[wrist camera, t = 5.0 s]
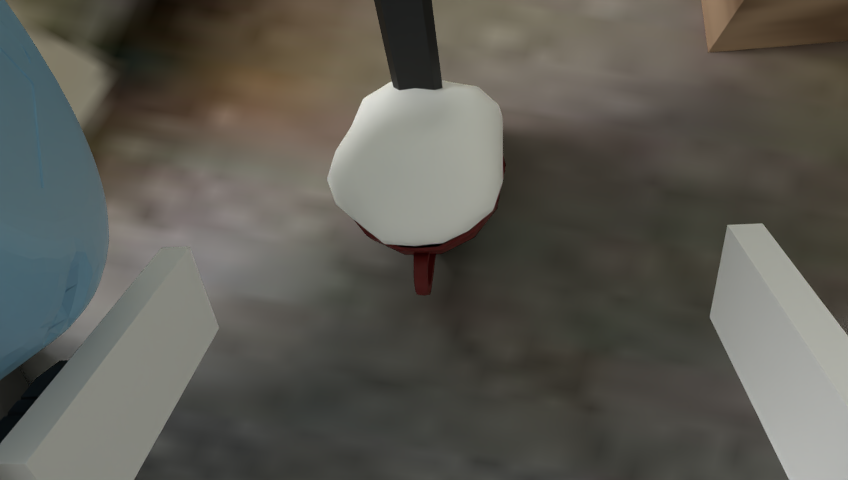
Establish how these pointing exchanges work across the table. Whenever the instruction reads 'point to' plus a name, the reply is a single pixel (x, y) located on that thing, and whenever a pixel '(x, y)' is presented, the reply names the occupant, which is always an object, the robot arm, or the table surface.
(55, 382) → the robot arm
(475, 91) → the cocoa
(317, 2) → the table surface
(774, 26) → the tower base
